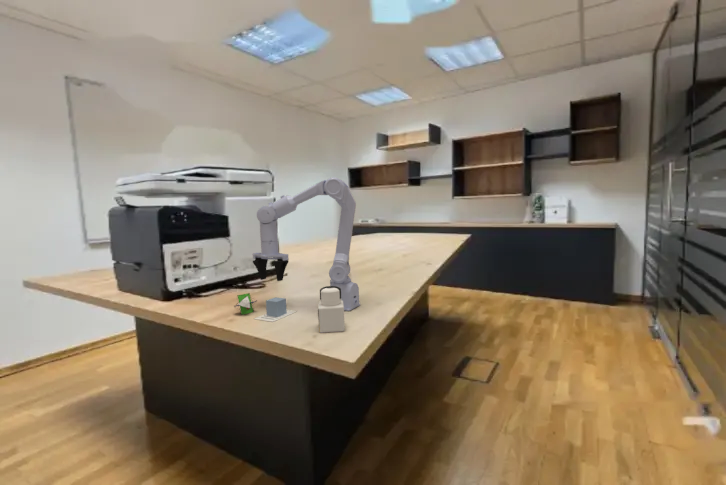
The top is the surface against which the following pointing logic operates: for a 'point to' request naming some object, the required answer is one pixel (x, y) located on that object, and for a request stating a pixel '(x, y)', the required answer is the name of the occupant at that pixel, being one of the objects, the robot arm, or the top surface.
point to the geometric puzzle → (245, 303)
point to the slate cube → (276, 307)
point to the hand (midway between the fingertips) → (271, 279)
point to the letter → (272, 319)
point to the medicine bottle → (331, 310)
